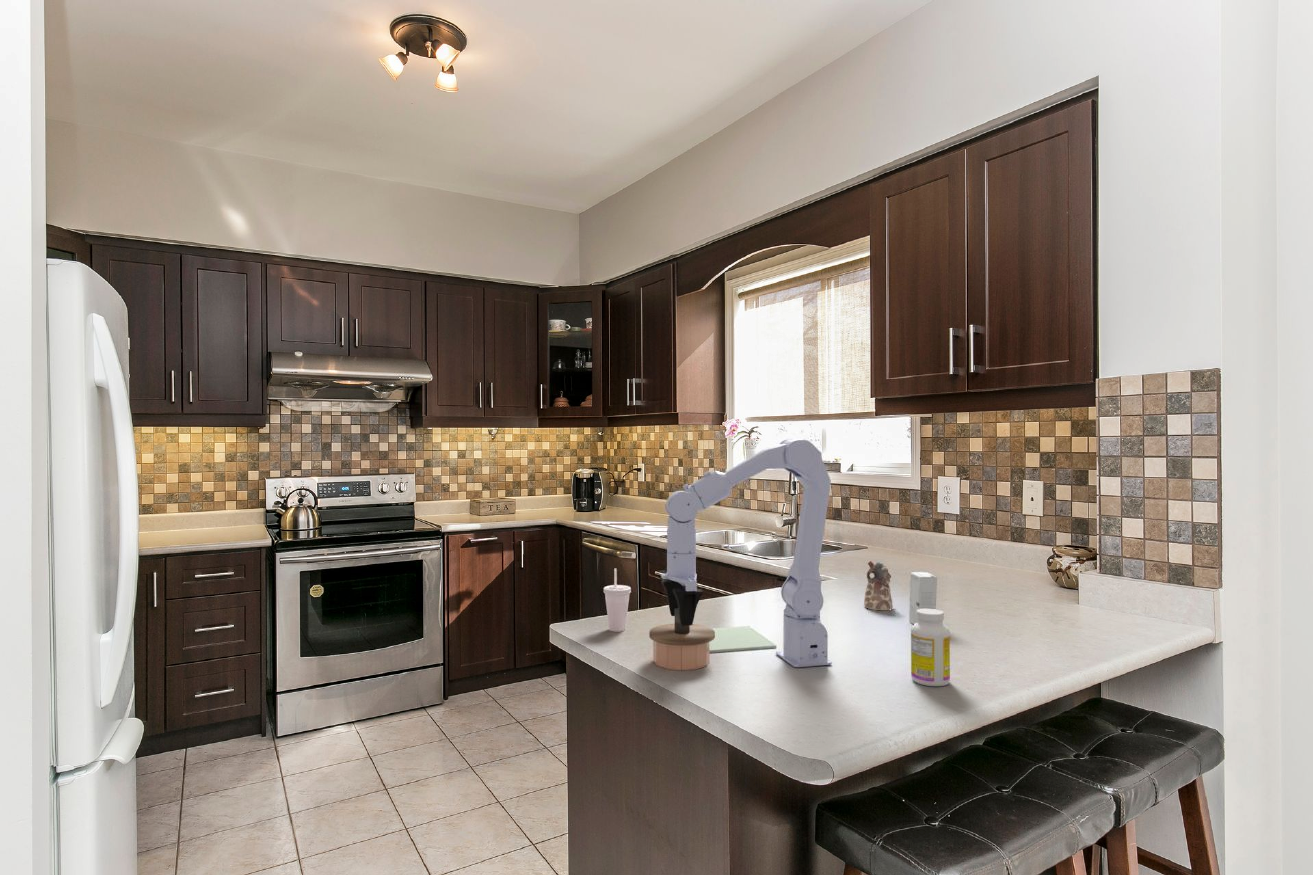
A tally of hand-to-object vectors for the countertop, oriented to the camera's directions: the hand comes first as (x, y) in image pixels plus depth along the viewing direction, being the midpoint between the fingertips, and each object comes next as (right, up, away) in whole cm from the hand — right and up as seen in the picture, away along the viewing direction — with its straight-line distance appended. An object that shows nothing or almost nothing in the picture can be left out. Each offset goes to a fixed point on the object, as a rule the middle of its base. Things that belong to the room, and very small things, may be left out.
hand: (681, 620), depth 145 cm
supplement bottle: (+45, -9, -12) cm, 47 cm away
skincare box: (+58, -8, +28) cm, 65 cm away
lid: (0, -3, 0) cm, 3 cm away
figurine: (+53, -8, +45) cm, 70 cm away
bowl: (0, -8, 0) cm, 8 cm away
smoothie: (-14, -8, +23) cm, 28 cm away
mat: (+11, -8, +15) cm, 20 cm away
